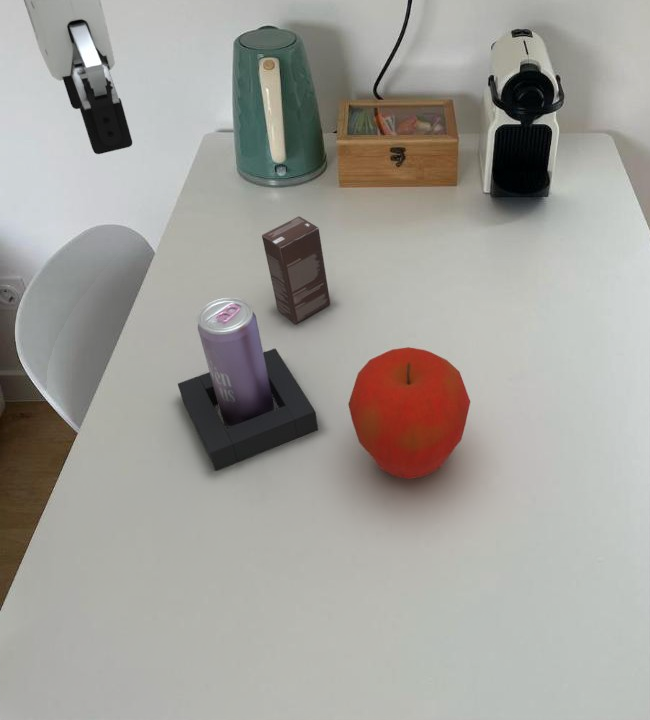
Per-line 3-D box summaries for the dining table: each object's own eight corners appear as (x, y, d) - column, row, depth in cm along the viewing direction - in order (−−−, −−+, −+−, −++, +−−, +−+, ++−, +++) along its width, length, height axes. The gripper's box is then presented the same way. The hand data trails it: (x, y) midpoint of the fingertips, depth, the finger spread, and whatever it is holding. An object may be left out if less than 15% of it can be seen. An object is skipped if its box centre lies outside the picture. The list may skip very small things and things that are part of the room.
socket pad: (215, 471, 87) (210, 452, 85) (183, 401, 95) (177, 383, 93) (318, 429, 91) (315, 411, 89) (278, 366, 99) (275, 347, 97)
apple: (348, 427, 91) (336, 331, 81) (452, 409, 92) (453, 314, 83) (365, 515, 82) (354, 420, 72) (480, 494, 83) (484, 398, 74)
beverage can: (285, 408, 93) (266, 306, 83) (253, 442, 90) (228, 340, 79) (245, 390, 96) (221, 289, 85) (211, 423, 92) (183, 321, 82)
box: (310, 290, 109) (299, 214, 101) (331, 305, 107) (321, 228, 99) (274, 310, 107) (259, 233, 98) (294, 326, 104) (281, 248, 96)
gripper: (-30, -110, 64) (41, 98, 75) (-4, -56, 52) (75, 180, 64) (67, -123, 66) (122, 81, 78) (113, -74, 55) (169, 157, 66)
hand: (101, 125), depth 71 cm, fingers open, 9 cm apart
